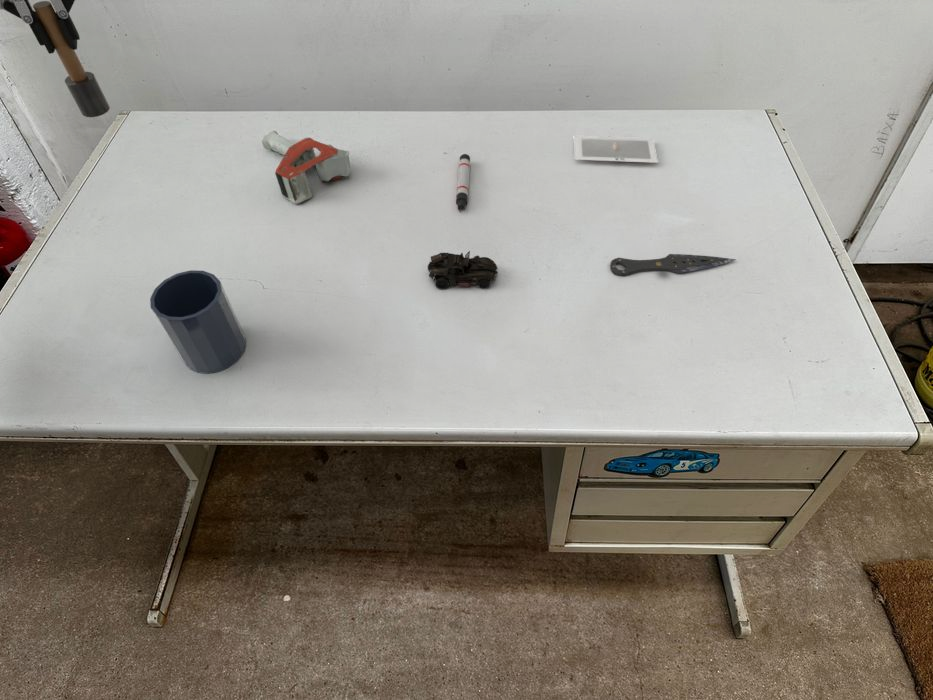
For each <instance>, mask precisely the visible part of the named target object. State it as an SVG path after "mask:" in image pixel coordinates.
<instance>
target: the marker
mask: <svg viewBox="0 0 933 700" xmlns="http://www.w3.org/2000/svg"><path fill="white" fill-rule="evenodd" d="M458 162H459V163H458V172H457V183H456V196H455V204H456V205H457V209H458V210H459V212H460V213H461V212H462V211H464V210H465V209H466V206H467V205H468V200H469V187H470V186H469V185H470V171H471V170H470V169H471V156H470V155H469V154H466V153H463V154H461V155H460V156H459V161H458Z"/></svg>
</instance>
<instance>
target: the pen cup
mask: <svg viewBox="0 0 933 700" xmlns="http://www.w3.org/2000/svg"><path fill="white" fill-rule="evenodd" d="M149 301H150V302H149V303H150V310H151V311H152V313H153V314H154V316H155V318H156V319H157V321H158V322H159V324H160V325H161V327H162V329H163V331H164V332H165V334H166V336H167V337H168V339H169V341H170V342H171V345H173V347H174V349H175V350H176V352H177V354H178V356H179V357H180V359H181V361H182V362H183V363H184V364H185V366H186V367H187V368H189V369H190V370H191V371H193V372H195V373H198V374H214V373H218V372H222V371H224V370H226V369H229V368H230V367H232V366H233V365H235V364H236V363H238V361H239V360H240V359H241V357H243V355H244V353H245V352H246V351H245V350H246V347H247V339H246V335H245V333H244V331H243V329H242V326H241V324H240V321H239V320H238V317H237V315H236V313H235V311H234V308H233V306H232V303H231V302H230V300H229V298H228V295H227V293H226V291H225V288H224V286H223V284H222V282H221V280H220V279H219V278H218V277H217V276H216V274H213V273H211V272H208V271H206V270H196V269H195V270H194V269H191V270H186V271H182V272H177V273H175V274H173V275H171V276H169V277H168V278H167V277H166V279H163V280H162V282H161V283H159V284H158V285H157V286H156V287H155V288H154V290H153V292H152V293H151V295H150V297H149Z"/></svg>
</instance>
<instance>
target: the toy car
mask: <svg viewBox="0 0 933 700" xmlns="http://www.w3.org/2000/svg"><path fill="white" fill-rule="evenodd" d="M470 255H471V251H470V250H469V251H468V252H467V253H466V254H465V255H464V253H463V252H461V253H460V254H456V253H450V252H439V253H437V254H433V255H432V256H430V261H429V263H428V264H427V270H428V273H429V274H428V277H430V278H431V279H432V280H433V282H435V287H436V288H437V289H439V290H445V289H446V290H447V289H448V288H449V287H450V288H452V287H456V286H457V287H459V288H460V287H461V288H469V287H470V286H471V285H472V286H477V285H478V286H479V288H481V289H483V290H484V289H488V288H489V287H490V285H491V282H494V281H495V280H496V276H497V274H498V272H499V271H497V270H498V267H497V264H496V263H495V261H494V260H493V259H492V258H490V257H487V256H480V255H475V256H473V257H470Z"/></svg>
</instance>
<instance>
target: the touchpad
mask: <svg viewBox="0 0 933 700" xmlns="http://www.w3.org/2000/svg"><path fill="white" fill-rule="evenodd" d="M572 136H573V153H574V160H575V161H576V160H578V161H598V162H599V161H601V162H603V161H604V162H629V163H630V162H631V163H652V164H653V163H654V164H655V163H656V164H657V163H659V159H658V156H657V151H656V145H655V142H654V138H653V137H633V136H632V137H631V136H630V137H629V136H628V137H627V136H602V135H598V136H597V135H576V134H575V135H574V134H573V135H572Z"/></svg>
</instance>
